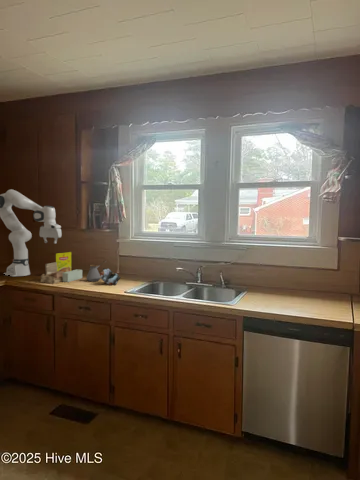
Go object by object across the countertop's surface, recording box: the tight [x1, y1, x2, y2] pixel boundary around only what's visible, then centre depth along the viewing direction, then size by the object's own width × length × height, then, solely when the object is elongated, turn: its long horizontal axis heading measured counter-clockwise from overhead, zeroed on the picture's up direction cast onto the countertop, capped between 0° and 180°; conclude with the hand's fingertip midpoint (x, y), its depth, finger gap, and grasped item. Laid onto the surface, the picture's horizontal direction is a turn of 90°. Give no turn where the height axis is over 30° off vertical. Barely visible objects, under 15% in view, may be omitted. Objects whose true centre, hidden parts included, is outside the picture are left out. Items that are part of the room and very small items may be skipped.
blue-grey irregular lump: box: [99, 268, 122, 286], centre depth 274 cm, size 15×12×14 cm
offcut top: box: [52, 271, 64, 278], centre depth 281 cm, size 5×10×4 cm, turn 165°
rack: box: [40, 273, 63, 284], centre depth 282 cm, size 13×18×6 cm
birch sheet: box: [45, 261, 57, 275], centre depth 283 cm, size 2×11×14 cm, turn 159°
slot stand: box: [62, 269, 83, 283], centre depth 286 cm, size 5×18×7 cm, turn 159°
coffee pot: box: [86, 260, 107, 283], centre depth 288 cm, size 21×12×15 cm, turn 152°
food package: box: [55, 251, 72, 272], centre depth 302 cm, size 15×1×20 cm, turn 143°
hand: (50, 243), depth 281 cm, fingers open, 8 cm apart
